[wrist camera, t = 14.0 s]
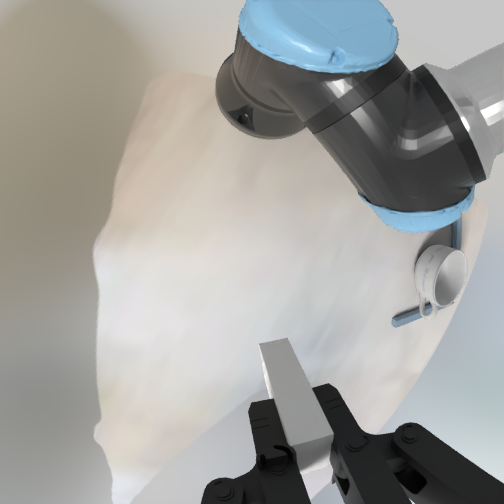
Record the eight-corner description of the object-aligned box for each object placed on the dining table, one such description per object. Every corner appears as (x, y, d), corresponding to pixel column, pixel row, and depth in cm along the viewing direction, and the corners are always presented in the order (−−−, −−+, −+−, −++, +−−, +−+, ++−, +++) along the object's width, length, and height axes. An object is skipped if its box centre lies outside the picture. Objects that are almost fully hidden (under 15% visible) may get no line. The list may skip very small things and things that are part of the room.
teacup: (426, 229, 43) (455, 238, 35) (449, 258, 46) (475, 269, 38) (388, 291, 45) (414, 308, 37) (415, 313, 48) (439, 330, 40)
